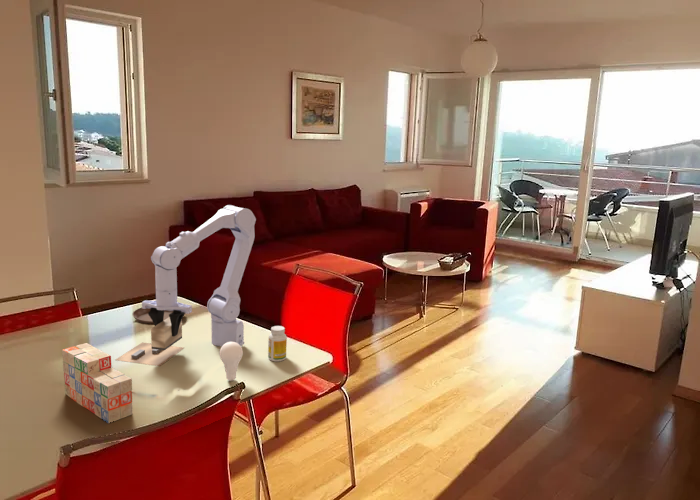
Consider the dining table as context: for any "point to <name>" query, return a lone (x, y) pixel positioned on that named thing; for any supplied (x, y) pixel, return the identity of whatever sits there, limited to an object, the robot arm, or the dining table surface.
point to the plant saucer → (143, 316)
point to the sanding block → (164, 335)
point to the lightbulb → (231, 358)
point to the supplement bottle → (277, 344)
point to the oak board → (150, 355)
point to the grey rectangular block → (138, 354)
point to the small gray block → (155, 351)
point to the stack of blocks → (96, 382)
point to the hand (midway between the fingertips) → (167, 334)
